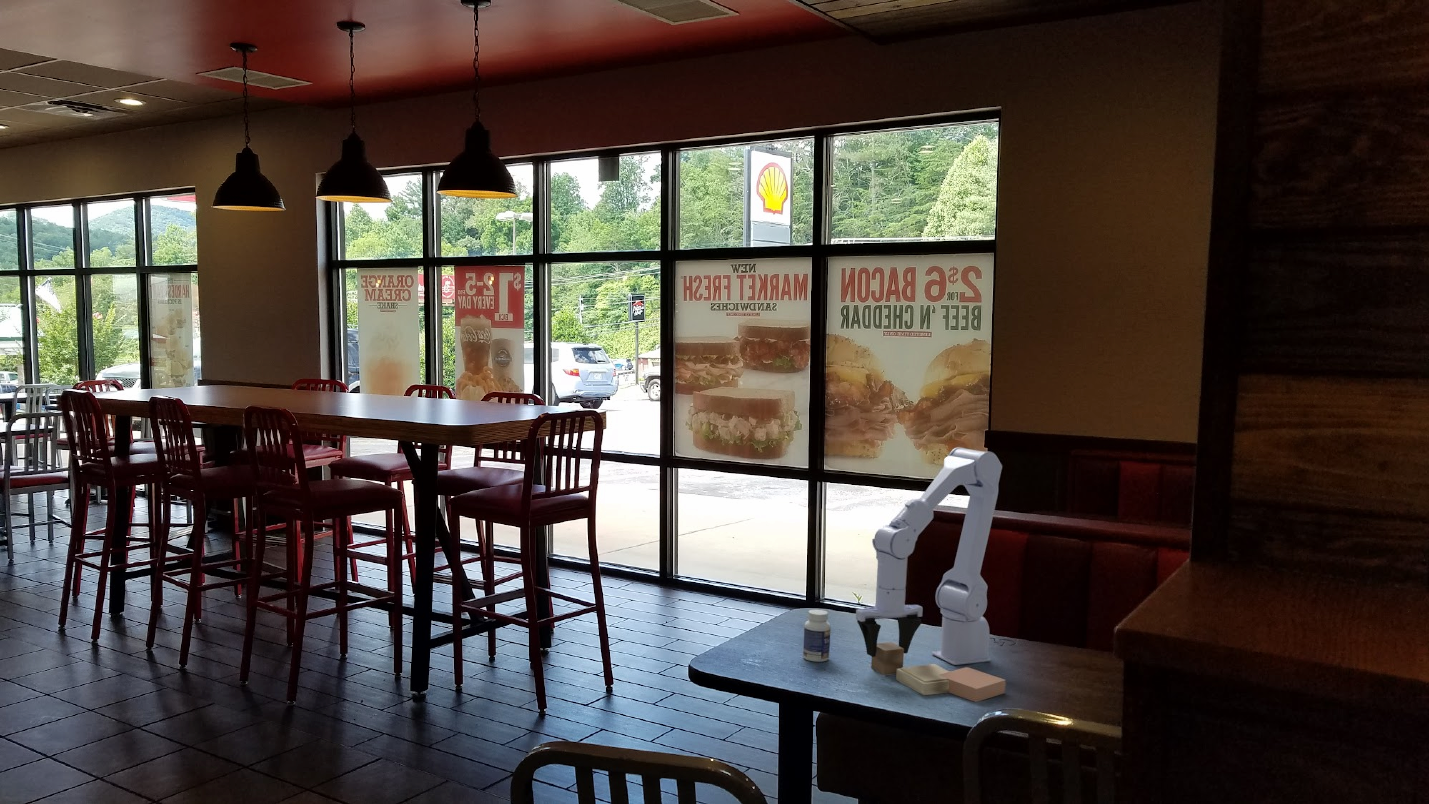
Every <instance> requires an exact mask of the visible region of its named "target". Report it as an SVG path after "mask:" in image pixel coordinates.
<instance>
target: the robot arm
mask: <svg viewBox="0 0 1429 804" xmlns="http://www.w3.org/2000/svg"><path fill="white" fill-rule="evenodd" d="M1002 470H1003V464H1002V463H1001V462H1000V459H999V458H998V456H997V455H996V454H995V453H994V452H992V451H983V450H977V449H976V450H975V449H969V448H965V447H962V446H957V447H955V448H953V449H952V450H950V452H949V453H948V455H947V456H946V457H945V458H944V459H943V467H942V468H941V470H940V471H939V473H938V474H937V475H936V476H935V478H934V479H933V480H932V482H931V483H930V485H929V486H928V487H927V488H926V490H925V491H924V492H923V494H922V495H921V496H920V497H919V498H912V499H910V500H907V501H906V503H904V507H903V508H902V510H900V511H899V513H898V514H897V515H896V516H895V517H894V518H893V519H892V520H891V521H890V523H889V524H887V525H885V526H884V525H883V526H881V527H880V528H879V529H877V531H876V532H875V534H874V538H872V539H871V540H872V541H871V542H872V547H873V548H874V551H875V553H876V554H875V555H876V556H875V557H876V561H877V570H876V571H877V572H876V590H875V604H874V605H873V606H869V607H865V608H860V609H855V620H857V621H856V622H857V624H858V626H859V629H860V630H861V633H862V636H863V639H864V645H865V649H866V655H868V656H870V657H871V658H872V657H875V656H876V650H877V644H878V638H879V634H880V630H881V628H882V626H881V625H880V624H879V623H877V621H876V620H881V619H883V620H884V619H896V620H897V624H898V646H900V647H902V648H904V654H908V653H909V649H910V646H911V643H912V640H913V638H914V636H915V634H916V632H917V630H918V629H919V627H920V626H921V624H922V619H921V618H919V617H923V611H924V610H923V606H921V605H919V604H905V603H906V602H905V601H906V587H907V586H906V585H907V582H906V581H907V567H908V557H909V556H911V554H913V552H914V551H915V547H916V542H917V541H918V537H919V535H920V534H921V533H922V532H923V531H924V530H925V528H926V527H927V526H928V525H929V524H930V523H931V521H932V520H933V519H934V510H935V508H936V507H937V506H939V504H940V503H942V502H943V500H945V499H946V498H947V497H948V495H950V494H951V493H952V492H953V491H954V489H956V488H957V487H958V486H963V487H965V489H966V491H967V493H968V494H969V499H968V504H967V508H966V512H965V516H964V520H963V526H962V530H961V535H960V538H959V543H958V546H957V552H956V556H955V560H954V565H953V567H952V568H951V569H949V570H947V571H946V572H945V573H944V574H942V575H943V576H942V579H941V582H940V583H939V585H938V587H937V588H936V591H935V603H936V605H937V607H938V608H940V609H939V610H940V614H942V617H941V619H942V620H941V637H940V638H941V639H940V641H941V642H940V650H937V651H936V650H935V651H932V652H931V655H933V656H935V657H937V658H940V659H941V660H943V661H945V662H947V663H949V664H951V665H954V666H958V665H959V666H960V665H967V664H975V663H985V662H990V661H991V658H990V657H989V647H990V644H989V643H990V626H989V623H988V621H987V619H986V617H984V614H985V612H986V610H987V606H988V599H987V598H988V597H987V595H988V593H987V592H988V587H989V586H988V584H987V583H986V581H985V580H984V578H983V577H982V575H981V572H982V571H981V570H982V566H983V561H984V557H985V552H986V548H987V544H988V540H989V535H990V532H991V527H992V523H993V522H992V521H993V518H994V513H995V510H996V504H997V500H998V495H999V482H1000V480H1001V479H1000V478H1001V473H1002Z"/></svg>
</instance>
